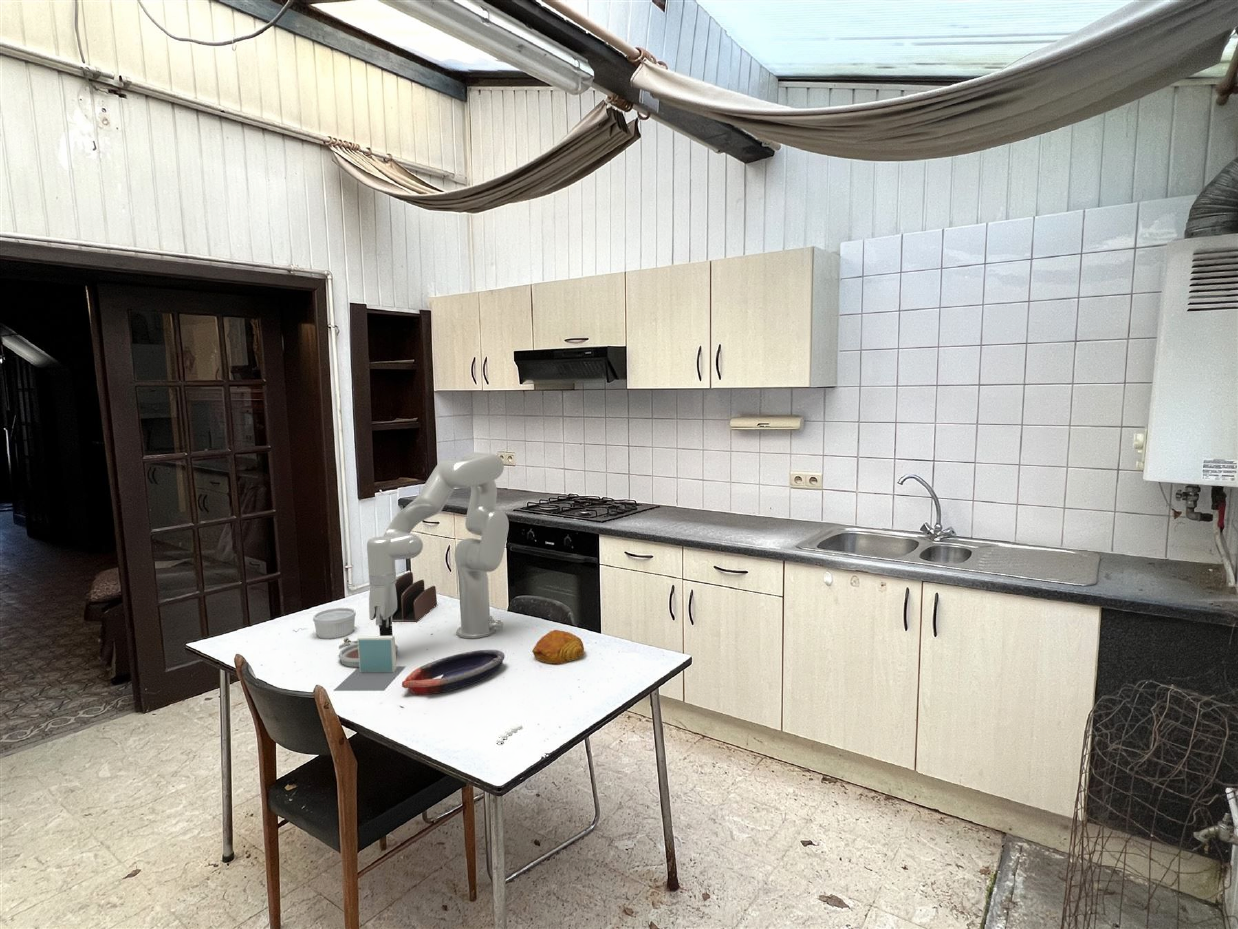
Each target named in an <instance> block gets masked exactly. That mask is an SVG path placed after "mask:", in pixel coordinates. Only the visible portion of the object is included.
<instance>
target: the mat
mask: <svg viewBox="0 0 1238 929" xmlns="http://www.w3.org/2000/svg"><path fill="white" fill-rule="evenodd" d="M396 667H397V669H396V670H395V671H394V672H360V667H356V669H355V670H353V672H352V673H351V674H349V675H348V676H347V677H346V678H345V679H344V680H343V681H342V682H340V684H339V685H338V686H336V687H335V688H334V689H333V690H332V691H333V692H336V691H337V692H342V691H343V692H345V691H346V692H347V691H348V692H349V691H350V692H351V691H352V692H355V691H356V692H368V691H369V692H372V691H373V692H375V691H376V692H377V691H380V692H382V691H383V692H384V691H385V690H386V689H387V688H388V687H389V686H390V685H391V683H392V682H393V681H394V680H395V679H396V678H397V677H398V676H399V675H400V674H401V673H402V671H403V670H405V668H407V666H405V665H402V666H399V665H398V666H397V665H396Z"/></svg>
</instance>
